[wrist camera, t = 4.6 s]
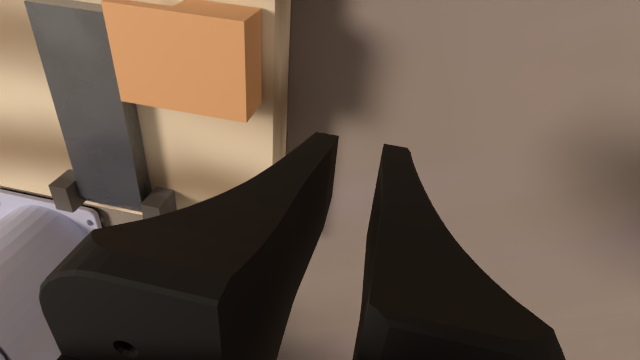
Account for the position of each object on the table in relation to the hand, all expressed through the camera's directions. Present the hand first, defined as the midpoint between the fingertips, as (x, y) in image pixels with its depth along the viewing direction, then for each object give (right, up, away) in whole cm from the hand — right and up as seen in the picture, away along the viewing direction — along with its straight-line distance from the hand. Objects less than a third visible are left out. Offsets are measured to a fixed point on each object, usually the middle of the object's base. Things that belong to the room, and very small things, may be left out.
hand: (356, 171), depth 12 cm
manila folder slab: (-6, +5, +7) cm, 10 cm away
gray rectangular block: (-11, +3, +10) cm, 15 cm away
